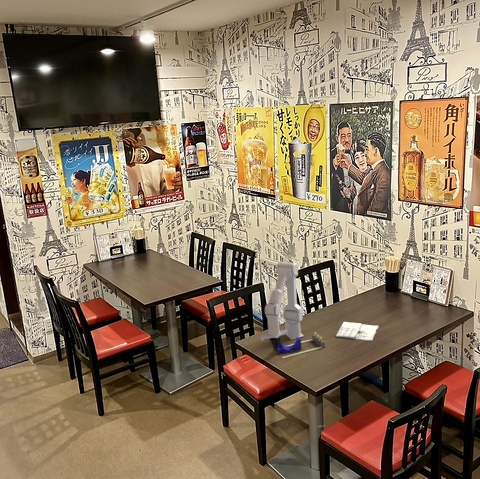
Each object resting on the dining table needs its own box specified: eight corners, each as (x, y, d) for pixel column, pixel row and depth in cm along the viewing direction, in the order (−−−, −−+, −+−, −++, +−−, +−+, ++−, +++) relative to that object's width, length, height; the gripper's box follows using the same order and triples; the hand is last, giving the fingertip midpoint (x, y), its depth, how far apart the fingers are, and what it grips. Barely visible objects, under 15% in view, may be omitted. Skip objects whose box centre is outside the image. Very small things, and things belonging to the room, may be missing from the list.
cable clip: (279, 354, 257) (278, 343, 256) (278, 350, 262) (277, 339, 260) (302, 351, 258) (301, 340, 256) (300, 347, 262) (299, 337, 261)
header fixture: (273, 349, 262) (273, 341, 260) (314, 339, 269) (314, 330, 268) (282, 358, 252) (281, 350, 250) (324, 347, 259) (324, 338, 258)
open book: (344, 323, 286) (344, 320, 285) (379, 327, 277) (379, 324, 276) (335, 338, 270) (335, 334, 269) (372, 343, 261) (372, 339, 260)
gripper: (263, 332, 246) (265, 356, 250) (289, 325, 251) (291, 349, 254) (258, 326, 253) (260, 350, 256) (283, 320, 257) (285, 344, 261)
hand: (275, 349), depth 256 cm, fingers closed
